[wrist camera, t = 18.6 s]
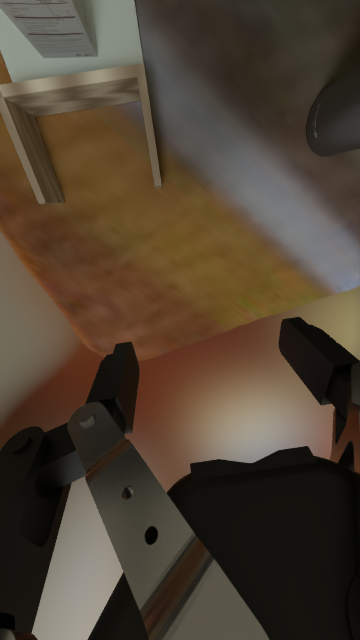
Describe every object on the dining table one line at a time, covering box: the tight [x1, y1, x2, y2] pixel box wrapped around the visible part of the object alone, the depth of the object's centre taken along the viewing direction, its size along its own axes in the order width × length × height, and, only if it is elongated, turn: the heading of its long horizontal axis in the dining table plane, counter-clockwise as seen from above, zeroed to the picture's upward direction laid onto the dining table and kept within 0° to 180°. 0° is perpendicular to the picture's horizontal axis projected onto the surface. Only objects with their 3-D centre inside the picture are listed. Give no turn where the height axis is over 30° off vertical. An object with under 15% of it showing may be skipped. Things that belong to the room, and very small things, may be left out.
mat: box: [0, 0, 143, 83], centre depth 26 cm, size 18×12×1 cm, turn 97°
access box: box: [0, 63, 162, 204], centre depth 30 cm, size 18×12×7 cm, turn 97°
